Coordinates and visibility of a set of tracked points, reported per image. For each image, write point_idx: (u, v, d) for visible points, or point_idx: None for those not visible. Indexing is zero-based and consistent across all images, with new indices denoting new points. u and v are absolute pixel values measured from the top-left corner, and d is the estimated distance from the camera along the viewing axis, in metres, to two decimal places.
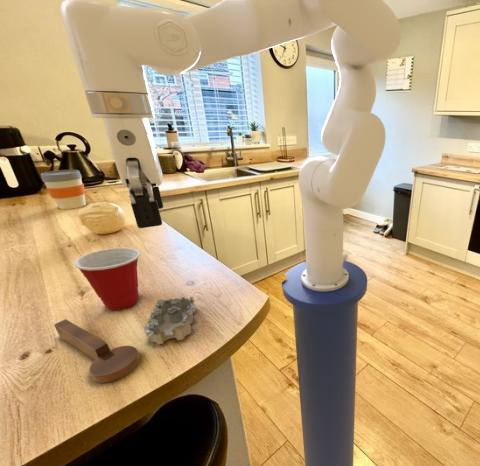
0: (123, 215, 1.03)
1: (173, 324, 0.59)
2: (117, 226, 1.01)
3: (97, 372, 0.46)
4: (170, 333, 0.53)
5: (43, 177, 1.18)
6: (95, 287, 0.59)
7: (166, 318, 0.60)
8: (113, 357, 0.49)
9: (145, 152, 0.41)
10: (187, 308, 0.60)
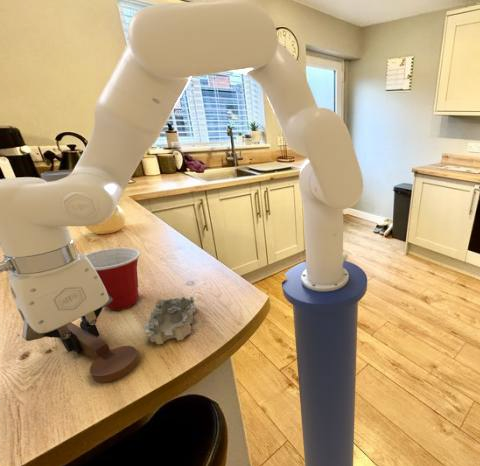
0: (123, 215, 1.03)
1: (173, 324, 0.59)
2: (117, 226, 1.01)
3: (97, 372, 0.46)
4: (170, 333, 0.53)
5: (43, 177, 1.18)
6: None
7: (167, 318, 0.60)
8: (113, 357, 0.49)
9: (23, 308, 0.43)
10: (187, 308, 0.60)
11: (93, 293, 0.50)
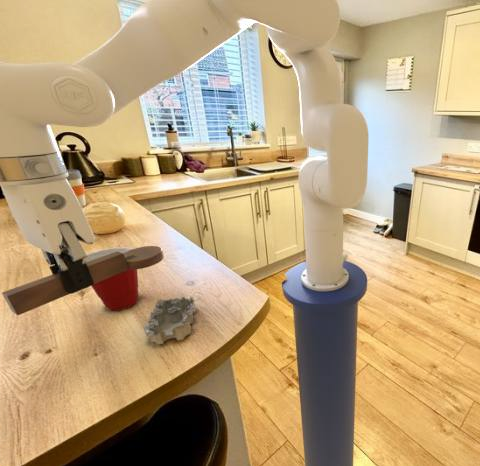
0: (123, 215, 1.03)
1: (173, 324, 0.59)
2: (117, 226, 1.01)
3: (152, 255, 0.52)
4: (170, 333, 0.53)
5: None
6: (95, 287, 0.59)
7: (167, 318, 0.60)
8: (137, 254, 0.52)
9: (78, 213, 0.40)
10: (187, 308, 0.60)
11: None
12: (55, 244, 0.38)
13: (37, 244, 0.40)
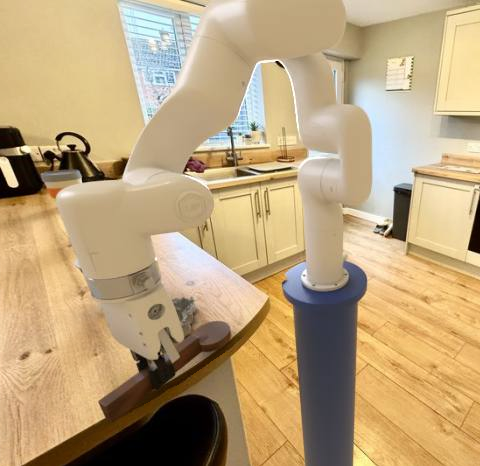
0: None
1: None
2: None
3: (223, 335, 0.52)
4: None
5: (43, 177, 1.18)
6: None
7: None
8: (207, 334, 0.52)
9: (173, 317, 0.39)
10: (187, 308, 0.60)
11: None
12: (154, 352, 0.38)
13: (131, 347, 0.40)
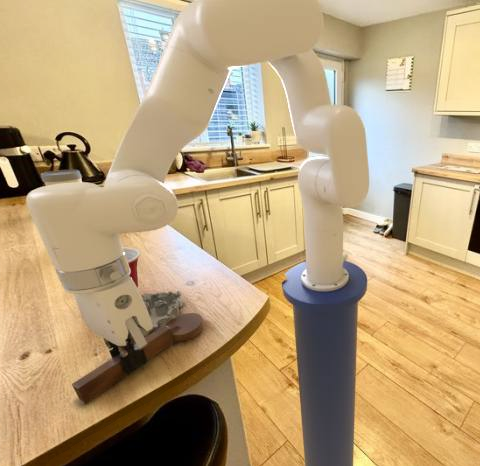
0: None
1: (159, 317, 0.60)
2: None
3: (195, 326, 0.55)
4: (155, 325, 0.55)
5: (43, 177, 1.18)
6: None
7: (154, 311, 0.62)
8: (180, 324, 0.56)
9: (141, 307, 0.43)
10: (173, 302, 0.61)
11: None
12: (122, 339, 0.41)
13: (102, 335, 0.43)
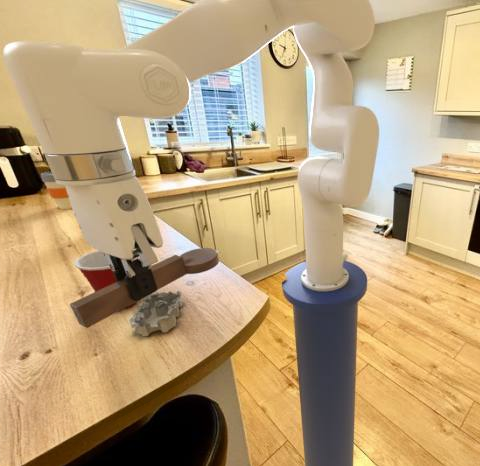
0: None
1: (159, 317, 0.60)
2: None
3: (210, 258, 0.49)
4: (155, 325, 0.55)
5: (43, 177, 1.18)
6: (95, 287, 0.59)
7: (154, 311, 0.62)
8: (193, 257, 0.49)
9: (149, 214, 0.36)
10: (173, 302, 0.61)
11: None
12: (128, 249, 0.35)
13: (104, 249, 0.37)
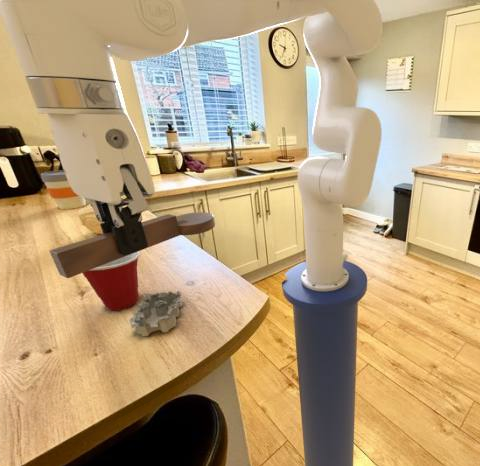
0: None
1: (159, 317, 0.60)
2: None
3: (205, 220, 0.46)
4: (155, 325, 0.55)
5: (43, 177, 1.18)
6: (95, 287, 0.59)
7: (154, 311, 0.62)
8: (187, 219, 0.46)
9: (140, 156, 0.34)
10: (173, 302, 0.61)
11: None
12: (116, 190, 0.32)
13: (90, 193, 0.34)
